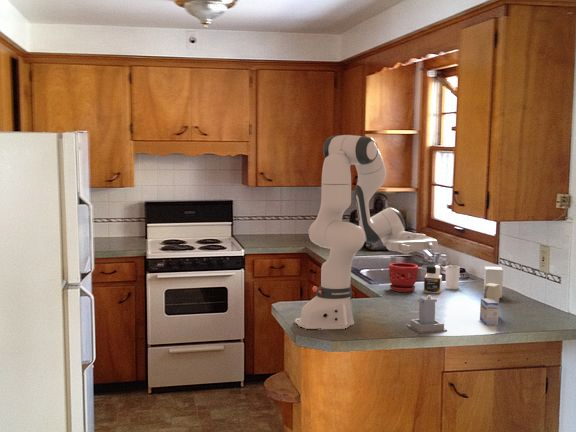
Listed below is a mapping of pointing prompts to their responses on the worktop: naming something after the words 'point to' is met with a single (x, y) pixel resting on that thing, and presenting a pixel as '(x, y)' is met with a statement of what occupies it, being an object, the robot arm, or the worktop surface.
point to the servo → (427, 310)
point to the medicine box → (489, 311)
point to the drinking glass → (452, 277)
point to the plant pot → (403, 276)
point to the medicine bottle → (433, 279)
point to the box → (492, 292)
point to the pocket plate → (426, 326)
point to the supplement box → (494, 277)
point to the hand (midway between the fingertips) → (420, 247)
